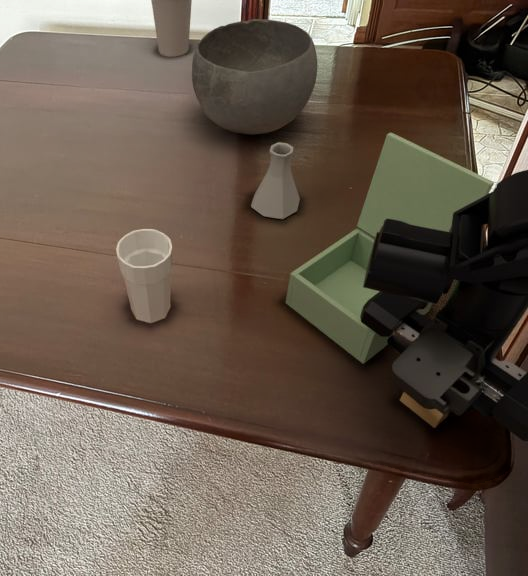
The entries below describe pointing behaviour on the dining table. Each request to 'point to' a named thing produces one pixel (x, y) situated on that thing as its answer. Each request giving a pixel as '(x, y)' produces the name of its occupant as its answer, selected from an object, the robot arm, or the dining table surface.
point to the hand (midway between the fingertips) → (431, 397)
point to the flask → (277, 186)
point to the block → (423, 411)
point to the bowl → (254, 74)
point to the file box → (339, 294)
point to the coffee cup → (172, 26)
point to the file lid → (418, 188)
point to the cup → (146, 272)
